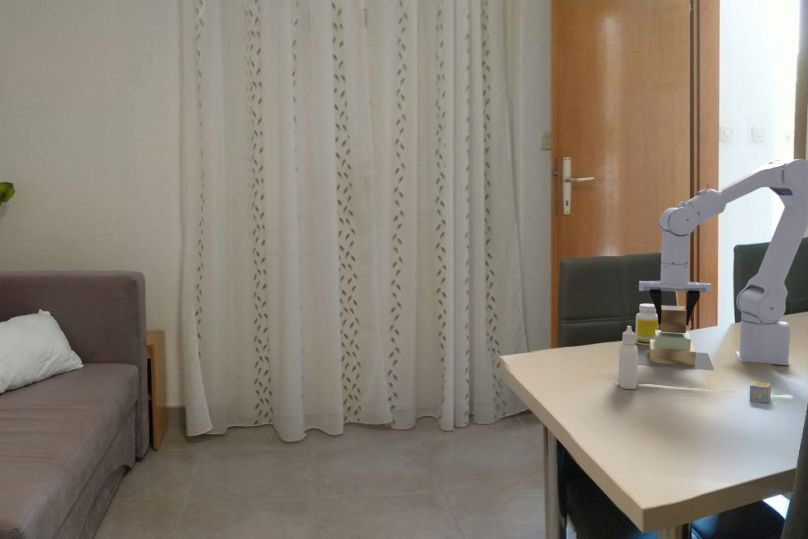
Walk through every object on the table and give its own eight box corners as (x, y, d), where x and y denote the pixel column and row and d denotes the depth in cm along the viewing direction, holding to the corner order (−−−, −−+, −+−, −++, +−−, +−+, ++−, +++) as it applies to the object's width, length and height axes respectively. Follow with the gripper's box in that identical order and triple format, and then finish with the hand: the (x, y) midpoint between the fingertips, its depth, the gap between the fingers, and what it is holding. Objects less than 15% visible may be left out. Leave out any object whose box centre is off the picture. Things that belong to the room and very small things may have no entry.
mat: (707, 355, 151) (707, 353, 151) (714, 372, 138) (714, 370, 138) (633, 350, 156) (633, 348, 156) (633, 366, 143) (633, 364, 143)
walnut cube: (684, 328, 147) (685, 306, 147) (685, 333, 143) (686, 310, 142) (660, 327, 149) (661, 305, 148) (661, 332, 144) (661, 309, 144)
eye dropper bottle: (643, 384, 131) (645, 325, 129) (633, 391, 127) (635, 330, 125) (622, 380, 134) (623, 322, 132) (611, 387, 130) (612, 327, 128)
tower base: (691, 354, 150) (692, 341, 149) (695, 365, 141) (695, 351, 141) (649, 352, 153) (650, 339, 152) (650, 362, 144) (650, 349, 144)
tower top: (688, 342, 149) (688, 331, 148) (690, 350, 142) (690, 339, 142) (654, 340, 151) (655, 330, 151) (655, 348, 144) (656, 337, 144)
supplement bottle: (661, 346, 159) (663, 306, 158) (639, 347, 159) (640, 307, 158) (653, 341, 164) (655, 302, 163) (632, 341, 164) (633, 303, 163)
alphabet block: (749, 400, 121) (749, 384, 120) (751, 396, 123) (752, 380, 123) (767, 404, 119) (768, 387, 118) (770, 399, 121) (771, 383, 121)
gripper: (639, 264, 143) (638, 325, 144) (713, 266, 138) (710, 329, 140) (639, 260, 149) (638, 319, 151) (710, 261, 144) (707, 322, 146)
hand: (672, 323), depth 146 cm, fingers closed on walnut cube, 5 cm apart
